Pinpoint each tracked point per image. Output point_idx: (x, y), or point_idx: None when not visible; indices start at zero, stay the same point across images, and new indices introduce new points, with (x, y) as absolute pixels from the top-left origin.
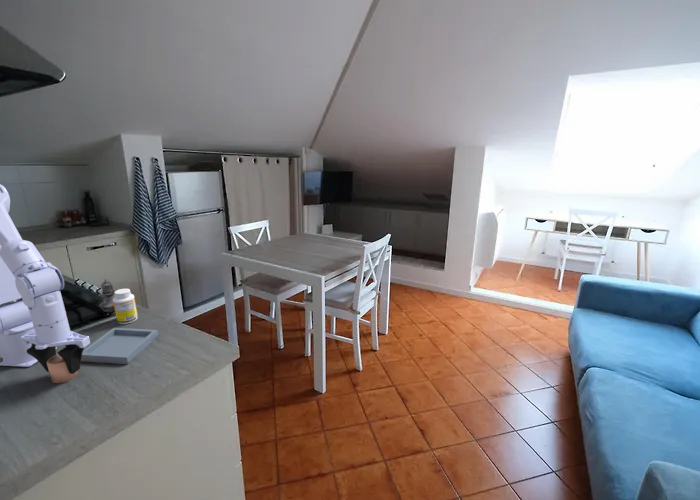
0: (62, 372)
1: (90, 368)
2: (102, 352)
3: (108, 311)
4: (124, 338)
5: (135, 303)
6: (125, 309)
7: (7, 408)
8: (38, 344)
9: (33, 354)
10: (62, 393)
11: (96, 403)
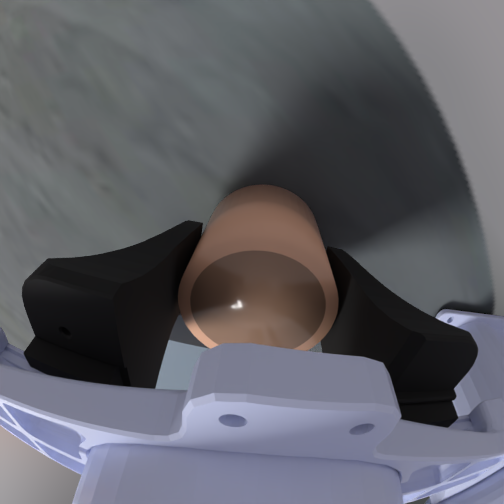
0: (224, 214)
1: None
2: (194, 363)
3: None
4: None
5: None
6: None
7: (385, 29)
8: (357, 447)
9: (424, 322)
10: (184, 101)
11: (25, 64)
